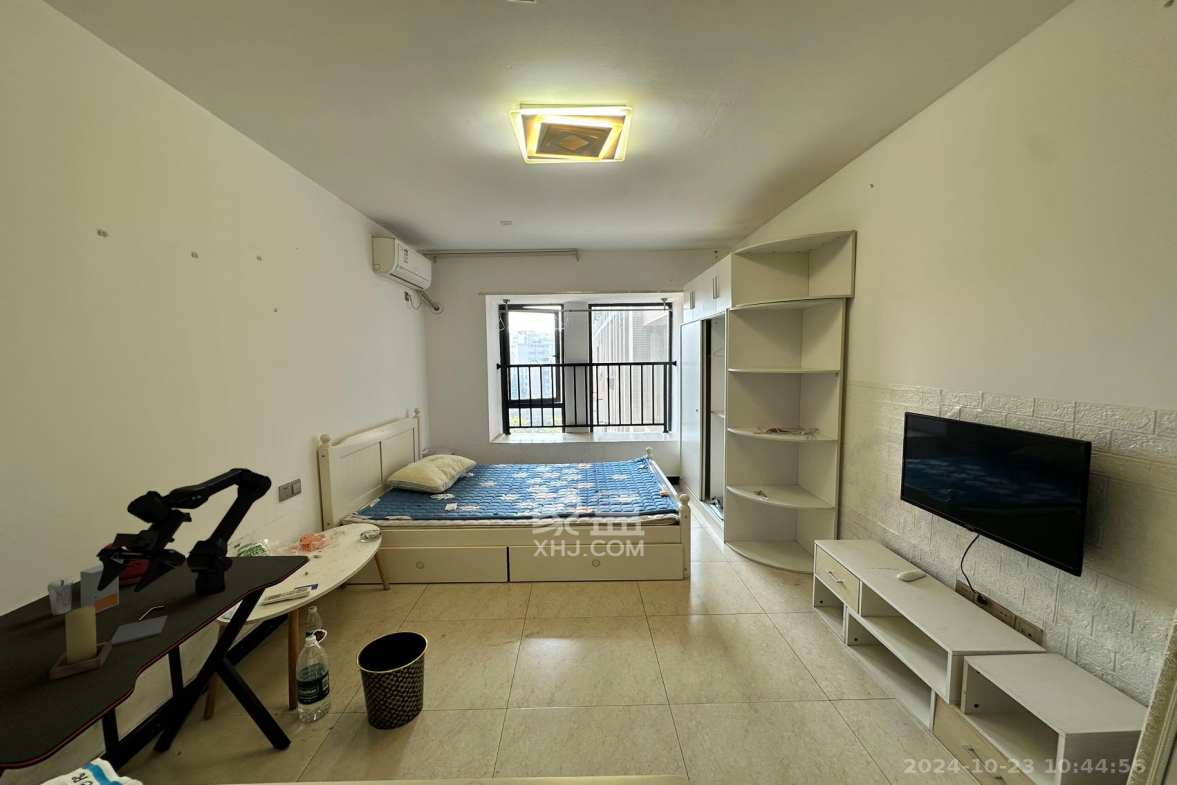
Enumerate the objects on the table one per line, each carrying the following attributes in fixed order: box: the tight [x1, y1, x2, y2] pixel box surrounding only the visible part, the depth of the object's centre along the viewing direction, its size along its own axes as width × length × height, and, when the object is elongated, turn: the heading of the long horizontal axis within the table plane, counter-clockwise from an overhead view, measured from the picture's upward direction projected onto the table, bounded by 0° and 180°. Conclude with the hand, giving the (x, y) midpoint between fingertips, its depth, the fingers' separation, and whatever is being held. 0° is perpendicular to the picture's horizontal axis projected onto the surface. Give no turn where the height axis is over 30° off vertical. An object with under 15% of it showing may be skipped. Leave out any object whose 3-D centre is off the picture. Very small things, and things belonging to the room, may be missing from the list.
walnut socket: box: [48, 640, 113, 681], centre depth 98 cm, size 8×8×2 cm
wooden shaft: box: [64, 606, 98, 665], centre depth 98 cm, size 4×4×12 cm
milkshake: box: [46, 577, 74, 616], centre depth 118 cm, size 5×5×10 cm
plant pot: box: [103, 542, 148, 586], centre depth 137 cm, size 13×13×12 cm
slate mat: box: [110, 615, 168, 647], centre depth 111 cm, size 9×9×1 cm
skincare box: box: [79, 563, 120, 615], centre depth 120 cm, size 6×4×12 cm
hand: (117, 591), depth 105 cm, fingers open, 9 cm apart
